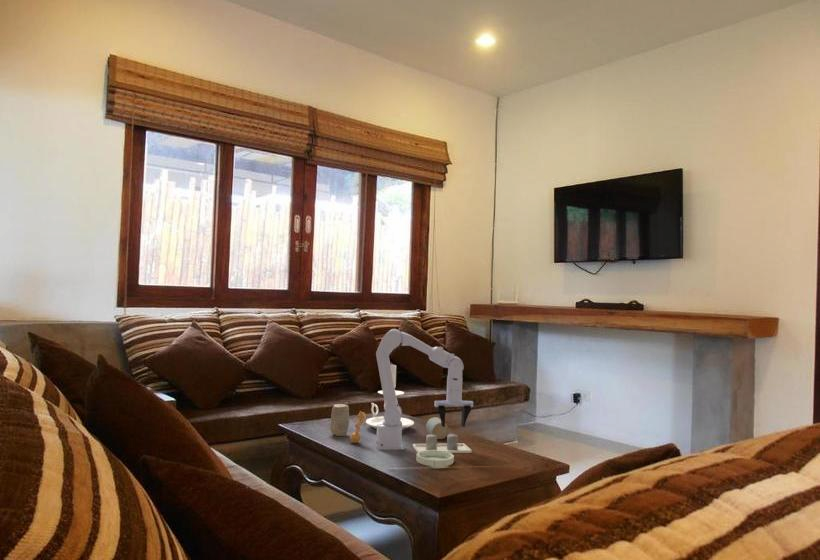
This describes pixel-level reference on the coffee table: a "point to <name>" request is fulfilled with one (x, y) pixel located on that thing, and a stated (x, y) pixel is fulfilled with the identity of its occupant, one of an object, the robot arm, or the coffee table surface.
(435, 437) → the pebble
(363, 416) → the figurine
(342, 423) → the carving
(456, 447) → the pebble
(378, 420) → the candlestick
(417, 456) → the celadon bowl
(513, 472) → the coffee table surface
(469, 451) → the parts tray
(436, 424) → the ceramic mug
